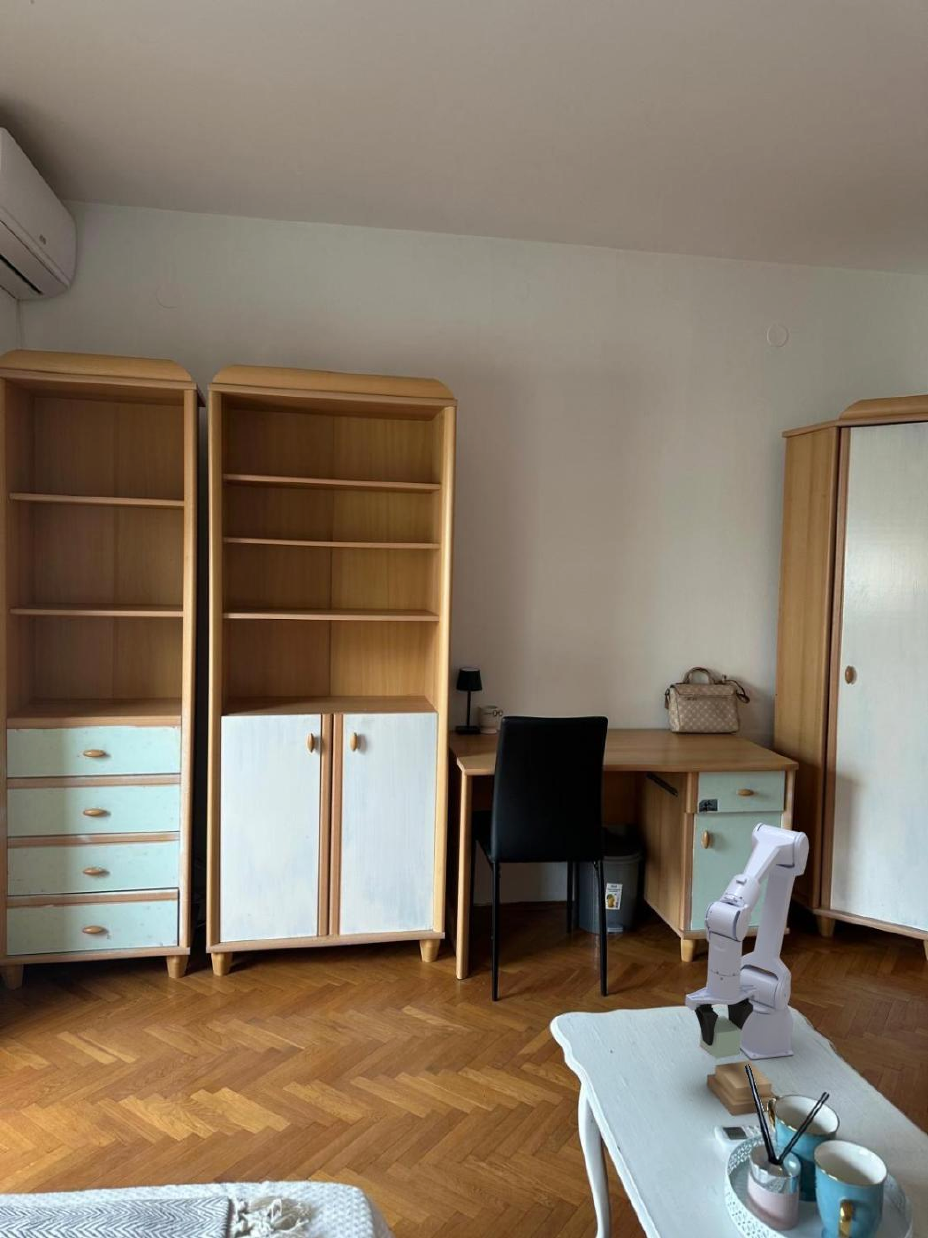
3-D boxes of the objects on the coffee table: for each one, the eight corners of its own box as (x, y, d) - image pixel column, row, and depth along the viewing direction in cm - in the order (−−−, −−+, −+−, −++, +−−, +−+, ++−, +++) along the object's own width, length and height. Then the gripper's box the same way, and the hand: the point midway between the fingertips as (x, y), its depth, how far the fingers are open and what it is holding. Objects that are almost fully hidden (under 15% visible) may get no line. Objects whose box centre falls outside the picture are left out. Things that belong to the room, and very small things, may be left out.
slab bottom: (750, 1082, 161) (750, 1070, 161) (778, 1112, 153) (778, 1099, 152) (706, 1087, 159) (707, 1075, 159) (732, 1118, 151) (733, 1105, 150)
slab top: (748, 1073, 160) (749, 1060, 160) (770, 1096, 153) (771, 1083, 153) (714, 1077, 158) (715, 1065, 158) (735, 1101, 152) (736, 1088, 151)
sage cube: (722, 1039, 161) (724, 1016, 161) (739, 1054, 156) (741, 1030, 156) (700, 1043, 159) (701, 1019, 159) (716, 1058, 155) (717, 1033, 154)
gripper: (743, 954, 163) (740, 1023, 164) (677, 963, 158) (674, 1034, 159) (768, 971, 156) (764, 1043, 157) (699, 982, 152) (696, 1056, 153)
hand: (720, 1040), depth 158 cm, fingers closed on sage cube, 5 cm apart
